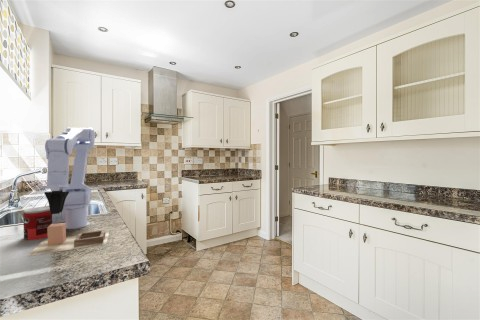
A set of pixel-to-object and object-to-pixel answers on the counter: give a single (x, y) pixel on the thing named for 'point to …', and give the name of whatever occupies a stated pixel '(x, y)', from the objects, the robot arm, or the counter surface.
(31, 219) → the canned food
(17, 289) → the counter surface
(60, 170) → the robot arm
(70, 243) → the board
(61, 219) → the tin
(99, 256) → the counter surface
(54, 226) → the block
